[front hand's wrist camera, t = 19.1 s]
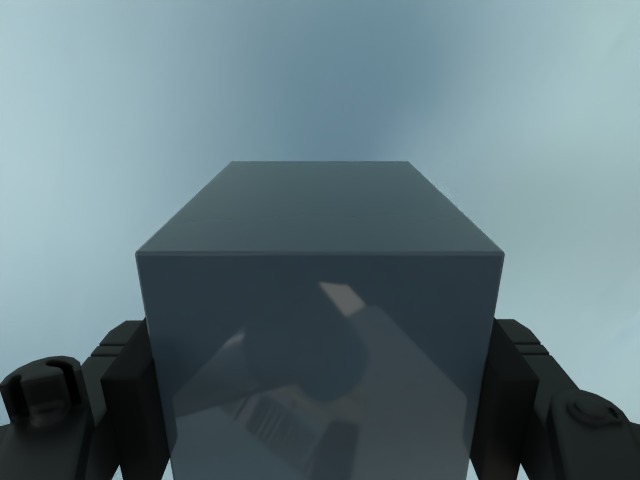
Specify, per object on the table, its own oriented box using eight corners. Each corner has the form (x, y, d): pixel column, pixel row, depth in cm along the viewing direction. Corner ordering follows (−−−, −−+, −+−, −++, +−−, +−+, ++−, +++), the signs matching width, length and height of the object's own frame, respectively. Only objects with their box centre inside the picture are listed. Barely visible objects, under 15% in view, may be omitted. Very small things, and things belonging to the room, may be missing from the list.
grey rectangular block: (396, 324, 19) (459, 525, 10) (243, 324, 19) (179, 525, 10) (409, 161, 16) (507, 252, 8) (230, 160, 16) (132, 252, 8)
